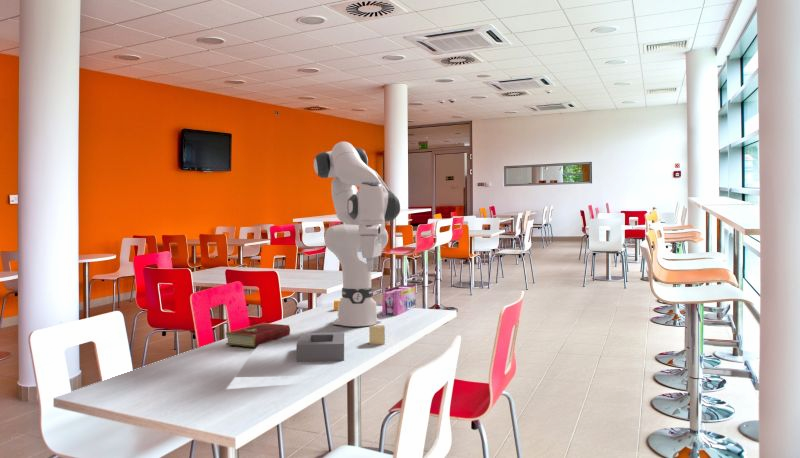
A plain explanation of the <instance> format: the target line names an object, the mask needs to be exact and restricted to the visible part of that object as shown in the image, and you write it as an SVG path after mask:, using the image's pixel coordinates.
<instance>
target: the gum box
mask: <svg viewBox="0 0 800 458" xmlns="http://www.w3.org/2000/svg"><path fill="white" fill-rule="evenodd" d="M381 304H382V306H381V310H382V312H381V313H382V314H383V315H382V314H381V315H382V316H395V315H398V316H400V315H401V314H404V313H406V312H407V311H409V310H411V309H413V308H415V307H417V286H416V285H403V284H401V285H397V286H393V287H389V288H385V289H382V302H381ZM408 308H410V309H408ZM387 314H388V315H387Z"/></svg>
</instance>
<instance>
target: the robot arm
mask: <svg viewBox="0 0 800 458" xmlns="http://www.w3.org/2000/svg"><path fill="white" fill-rule="evenodd" d="M313 169H314V172H315V174H316V175H317V176H318V177H319V178H322V179H328V178H333V179H332V181H331V184H330V185H331V187H330V189H331V198H332V203H333V207H334V211H335V214H336V217H337V219H338V220H339V221H340V222H341V223H342V224H341V223H340V224H336V225H332V226H329V227H328V228H327V229H326V231H325V233H324V238H323V239H324V240H323V241H324V244H325V247H326V248H327V249H328V250H329V251H330V252H331V253H332V254H333V255H334V256H336V258H337V260H338V261H339V263H340V266H341V270H342V271H341V272H342V288H341V298H342V300H341V301H340V300H339V301H340V302H339V303H338V311H337V318H336V319H335V320H333V323H332V324H333V325H336V326H337V325H339V326H344V327H367V326H368V327H369V326H375V325H378V324H382V320H381V319H380V318H378V316H377V315H378V314H377V313H378V312H377V310H378V309H377V308H378V307H377V301H375V300H374V299H373V296H374V295H373V292H374V290H373V287H372V273H373V271H375V270H378V269H379V267H378V264H379V257H380V256H382V250H384V249H385V248H386V246H387V244H388V242H389V234H388V231H387V229H386V222H392V221H394V220H395V219H396V218H397V217H398V216H399V214H400V211H401V204H400V201H399V198H398V196H396V194H395V193H394V192H393V191H391V190H390V189H389V187H388V186H387V185H386V183H385V181H384V180H383V178H382V177H381V175H379V174H378V172H377V171H376V170H374V169H373V168H371V167H370V166H369V159H368V155H367V153H366V151H365V150H364V149H363V148H361V147H360V148H359V147H354V146H353V144H352V143H350V142H348V141H340V142H337V143H335V145H334V146H333V147H332V149H331V150H329V151H321V152H319V153H317V154H316V155H315V156H314V160H313ZM357 187H359V188H357ZM358 253H361V256H362V258H363V259H365V261H363V260H361V259H360V258H359V255H358Z"/></svg>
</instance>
